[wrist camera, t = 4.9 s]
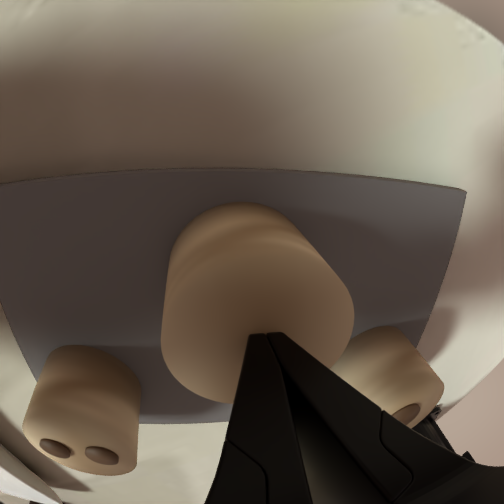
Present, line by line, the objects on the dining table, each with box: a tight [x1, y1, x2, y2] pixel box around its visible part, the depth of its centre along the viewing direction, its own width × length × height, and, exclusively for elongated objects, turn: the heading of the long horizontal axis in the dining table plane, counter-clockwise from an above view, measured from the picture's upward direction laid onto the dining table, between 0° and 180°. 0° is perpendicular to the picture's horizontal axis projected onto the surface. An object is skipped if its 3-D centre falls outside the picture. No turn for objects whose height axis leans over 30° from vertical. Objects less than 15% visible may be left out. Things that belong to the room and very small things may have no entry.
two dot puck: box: [22, 345, 141, 476], centre depth 10 cm, size 5×5×4 cm
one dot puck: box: [330, 326, 444, 428], centre depth 13 cm, size 5×5×4 cm
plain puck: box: [161, 202, 354, 404], centre depth 9 cm, size 5×5×4 cm
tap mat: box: [0, 168, 467, 424], centre depth 12 cm, size 21×13×1 cm, turn 87°
